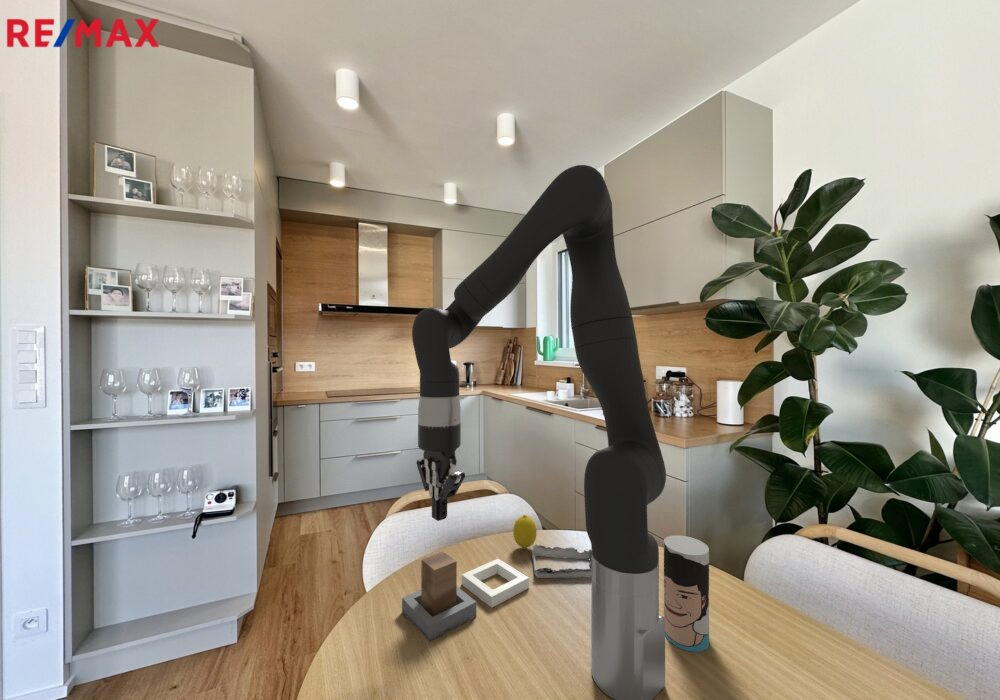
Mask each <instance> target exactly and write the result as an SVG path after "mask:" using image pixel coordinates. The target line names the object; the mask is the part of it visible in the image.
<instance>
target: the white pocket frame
mask: <svg viewBox="0 0 1000 700" xmlns="http://www.w3.org/2000/svg"><path fill="white" fill-rule="evenodd" d="M497 574H498V576H499V575H500V576H501V577H502V578H504V579H505V580H506V581H508V582H505V583H504V584H502V585H500V586H498V587H496V588H494V589H492V587H490V586H488V585H487V584H485V583H484V582H482V581H484V580H486V579H488V578H491V577H493V576H494V575H497ZM461 585H462V586H463V587H464V588H466V589H467V590H468V591H469V592H471V593H472V594H473V595H474V596H476V597H477V598H479V600H481V601H482V602H484V603H485V604H486V605H487V606H489V607H490V608H493V607H494V608H495V607H496V606H498V605H500V604H501V603H504V602H505V601H507V600H509V599H511V598H512V597H514V596H517V595H519V594H520V593H522V592H524V591H525V590H527V589H529V588H530V577H529V576H527V575H525V574H524V573H522V572H520V571H519V570H517V569H515V568H514V567H513V566H511V565H509V564H508V563H506V562H504V561H502V560H501V559H500V558H496V559H494V560H491V561H489V562H486V563H484V564H482V565H480V566H478V567H475V568H474V569H471V570H468V571H467V572H464V573H462V574H461Z"/></svg>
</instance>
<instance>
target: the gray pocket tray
mask: <svg viewBox="0 0 1000 700" xmlns="http://www.w3.org/2000/svg"><path fill="white" fill-rule="evenodd" d="M401 613H402V614H404V616H405V617H406V618H407V619H408V620H409V621H410V622H411V623H412V624H413V626H414V627H415V628H416V629H417V630H418V631H419V632H420V633H421V634H422V636H423V637H424V638H426V640H427V641H428V642H431V641H433V640H435V639H436V638H438V637H440V636H443V635H444V634H446V633H447V632H449V631H451V630H453V629H455V628H457V627H459V626H461V625H462V624H463V625H464V624H465V623H466V622H468V621H470V620H472V619H473V618H475V617H477V601H476V600H475V599H473V597H471V596H470V595H468V593H466V592H465V591H464V590H462V589H460V587H458V586H457V605H456V606H454V607H452V608H450V609H448V610H446V611H444V612H442V613H440V614H438V615H436V616H434V617H432V616H431V615H430V614H429V613H428V612H427V611H426V610H425V609H424V608H423V607H422V606H421V589H419V590H418V591H415V592H413V593H411V594H408V595H405V596H404V597H402V598H401Z"/></svg>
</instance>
